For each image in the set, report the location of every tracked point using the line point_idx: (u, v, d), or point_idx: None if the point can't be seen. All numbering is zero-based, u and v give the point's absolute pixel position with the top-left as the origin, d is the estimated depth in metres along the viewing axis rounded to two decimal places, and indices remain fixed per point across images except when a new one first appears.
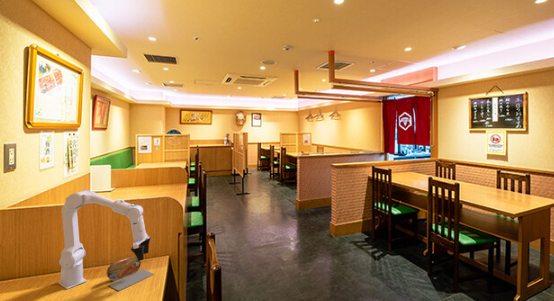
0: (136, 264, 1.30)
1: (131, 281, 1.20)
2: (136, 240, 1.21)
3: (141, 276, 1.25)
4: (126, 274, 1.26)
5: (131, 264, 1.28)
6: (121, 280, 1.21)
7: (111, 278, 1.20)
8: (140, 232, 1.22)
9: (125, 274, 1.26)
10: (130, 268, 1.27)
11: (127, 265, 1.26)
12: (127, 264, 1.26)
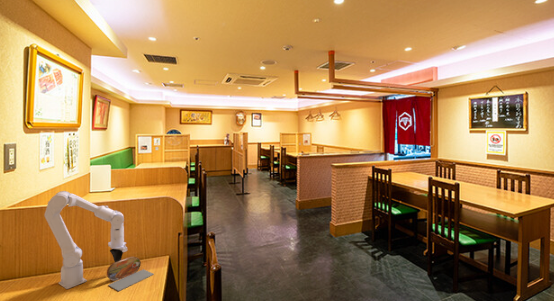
0: (136, 264, 1.30)
1: (131, 281, 1.20)
2: (118, 245, 1.26)
3: (141, 276, 1.25)
4: (126, 274, 1.26)
5: (131, 264, 1.28)
6: (121, 280, 1.21)
7: (111, 278, 1.20)
8: (122, 237, 1.28)
9: (125, 274, 1.26)
10: (130, 268, 1.27)
11: (127, 265, 1.26)
12: (127, 264, 1.26)
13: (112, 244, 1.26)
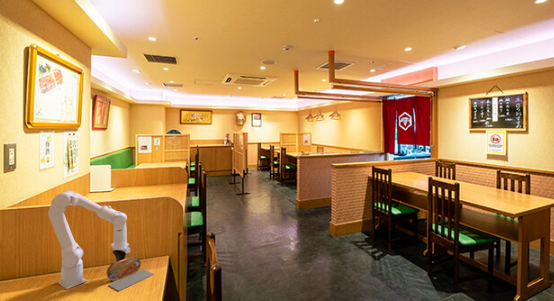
0: (136, 264, 1.30)
1: (131, 281, 1.20)
2: (121, 246, 1.25)
3: (141, 276, 1.25)
4: (126, 274, 1.26)
5: (131, 264, 1.28)
6: (121, 280, 1.21)
7: (111, 278, 1.20)
8: (125, 238, 1.27)
9: (125, 274, 1.26)
10: (130, 268, 1.27)
11: (127, 265, 1.26)
12: (127, 264, 1.26)
13: (115, 245, 1.25)
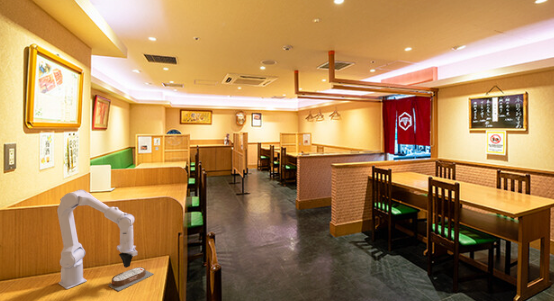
0: None
1: None
2: (128, 249, 1.22)
3: None
4: None
5: None
6: None
7: None
8: (132, 241, 1.24)
9: None
10: None
11: None
12: None
13: (121, 248, 1.21)
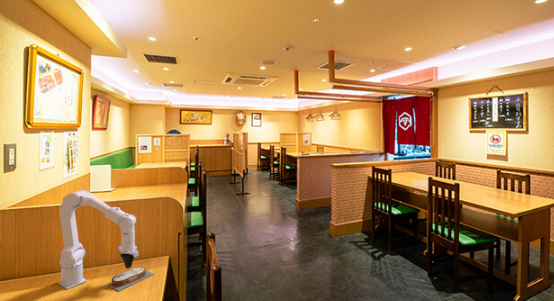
0: None
1: None
2: (129, 250, 1.21)
3: None
4: None
5: None
6: None
7: None
8: (133, 241, 1.23)
9: None
10: None
11: None
12: None
13: (123, 248, 1.21)
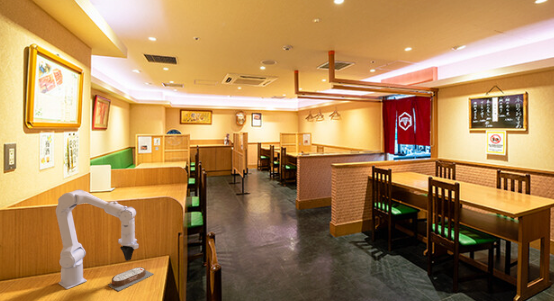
0: None
1: None
2: (129, 242, 1.21)
3: None
4: None
5: None
6: None
7: None
8: (133, 234, 1.23)
9: None
10: None
11: None
12: None
13: (123, 241, 1.21)
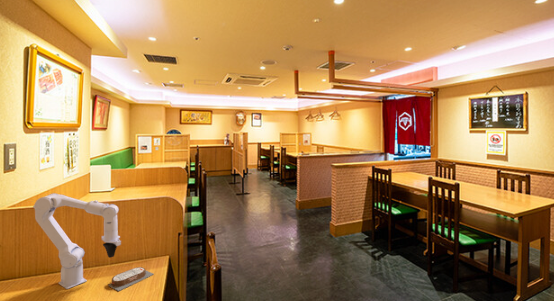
0: None
1: None
2: (112, 239, 1.22)
3: None
4: None
5: None
6: None
7: None
8: (116, 231, 1.24)
9: None
10: None
11: None
12: None
13: (105, 238, 1.21)
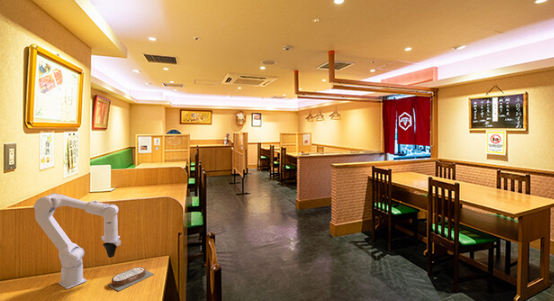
0: None
1: None
2: (112, 239, 1.22)
3: None
4: None
5: None
6: None
7: None
8: (116, 231, 1.24)
9: None
10: None
11: None
12: None
13: (105, 238, 1.21)
